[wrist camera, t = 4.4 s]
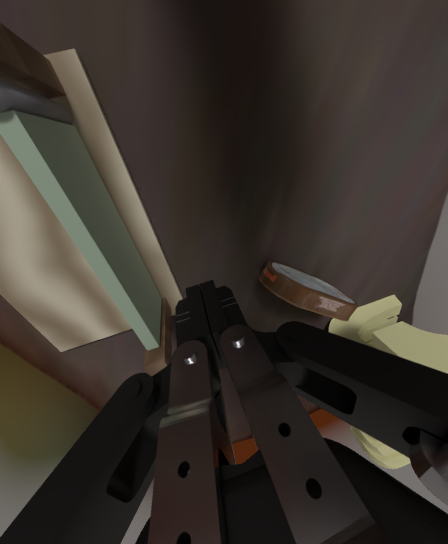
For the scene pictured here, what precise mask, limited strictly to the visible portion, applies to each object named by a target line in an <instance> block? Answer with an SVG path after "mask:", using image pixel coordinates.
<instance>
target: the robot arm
mask: <svg viewBox="0 0 448 544" xmlns="http://www.w3.org/2000/svg"><path fill="white" fill-rule="evenodd" d="M200 287H201V288H200ZM186 295H187V298H185V299H182V300H179V301H178V303H177V305H176V307H175V314H176V334H177V349H176V350H175V351H174V353H173V356H172V361H171V362H170V363H169V364H168V365H167V366H166V367H165V368H164V369H162V370H161V371H159V372H158V373H156V374H155V375H153V376H152V377H151V376H150V375H149V374H147V373H138V374H135V375H133V376H131V377H129V378H128V379H127V380H126V381H125V382H123V384H122V385H121V386H120V387H119V388H118V390H117V391H116V392H115V393H114V395H113V396H112V397H111V398H110V400H109V401H108V402H107V403H106V405H105V406H104V407H103V408H102V410H101V411H100V412H99V414H98V415H97V416H96V417H95V419H94V420H93V421H92V422H91V424H90V425H89V426H88V428H87V429H86V430H85V431H84V432H83V434H82V435H81V436H80V438H79V439H78V440H77V441H76V443H75V444H74V445H73V446H72V448H71V449H70V450H69V452H68V453H67V454H66V455H65V457H64V458H63V459H62V460H61V462H60V463H59V464H58V465H57V467H56V468H55V469H54V470H53V472H52V473H51V474H50V475H49V477H48V478H47V479H46V480H45V482H44V483H43V484H42V485H41V487H40V488H39V489H38V491H37V492H36V493H35V494H34V496H33V497H32V498H31V499H30V501H29V502H28V503H27V505H26V506H25V507H24V508H23V509H22V511H21V512H20V513H19V515H18V516H17V517H16V518H15V520H14V521H13V522H12V523H11V525H10V526H9V527H8V528H7V530H6V531H5V532H4V533H3V535H2V536H1V537H0V544H120V543H121V541H122V539H123V537H124V535H125V533H126V531H127V529H128V527H129V526H130V524H131V521H132V520H133V518H134V516H135V514H136V512H137V510H138V508H139V506H140V504H141V502H142V500H143V498H144V496H145V494H146V492H147V490H148V488H149V486H150V484H151V482H152V480H153V478H154V485H153V496H152V506H151V516H150V518H149V519H148V521H147V522H146V524H145V526H144V528H143V530H142V531H141V533H140V535H139V537H138V539H137V542H136V543H135V544H448V514H447V513H446V512H444V511H443V510H441V509H440V508H438V507H437V506H435V505H434V504H432V503H431V502H429V501H428V500H426V499H425V498H423V497H422V496H420V495H419V494H417V493H416V492H414V491H413V490H411V489H410V488H408V487H407V486H405V485H404V484H402V483H401V482H399V481H398V480H396V479H395V478H393V477H392V476H390V475H389V474H387V473H386V472H384V471H382V470H381V469H380V468H378V467H377V466H375V465H374V464H372V463H371V462H369V461H368V460H366V459H365V458H364V457H362V456H361V455H359V454H358V453H356V452H355V451H353V450H351V449H350V448H348V447H346V446H344V445H342V444H340V443H338V442H335V441H333V440H330V439H327V438H323V437H322V436H321V434H320V433H319V431H318V429H317V427H316V426H315V424H314V423H313V421H312V419H311V418H310V416H309V415H308V413H307V411H306V410H305V408H304V406H303V405H302V403H301V402H300V400H299V398H298V397H297V395H299V396H301V397H303V398H304V399H306V400H308V401H310V402H311V403H313V404H315V405H317V406H319V407H320V408H322V409H324V410H326V411H327V412H329V413H331V414H333V415H335V416H336V417H338V418H340V419H341V420H343V421H345V422H347V423H348V424H350V425H352V426H354V427H355V428H357V429H359V430H361V431H362V432H364V433H366V434H368V435H369V436H371V437H373V438H375V439H376V440H378V441H380V442H382V443H383V444H385V445H387V446H389V447H390V448H392V449H394V450H396V451H397V452H399V453H401V454H403V455H404V456H406V457H408V458H410V462H411V465H412V468H413V470H414V472H415V474H416V475H417V477H418V478H419V480H420V481H421V482H422V483H423V485H424V486H425V487H426V488H427V489H428V490H429V491H430V492H431V493H432V494H433V495H434V496H436V497H437V498H438V499H440V500H441V501H442V502H444V503H445V504H446V505H448V373H445V372H442V371H439V370H436V369H433V368H430V367H428V366H425V365H422V364H419V363H416V362H413V361H410V360H408V359H405V358H402V357H399V356H396V355H393V354H390V353H387V352H385V351H382V350H379V349H376V348H373V347H370V346H367V345H365V344H362V343H359V342H356V341H353V340H350V339H347V338H345V337H342V336H339V335H336V334H333V333H330V332H327V331H325V330H322V329H319V328H316V327H313V326H310V325H307V324H304V323H301V322H296V321H292V322H287V323H284V324H283V325H281V326H280V327H279V328H278V330H277V332H267V333H263V332H258V331H255V330H253V329H251V328H250V327H249V326H248V325H247V323H246V321H245V319H244V317H243V314H242V312H241V310H240V308H239V306H238V304H237V301H236V299H235V298H234V295H233V293H232V291H231V290H230V289H229V288H228V287H226V286H222V287H219V288H215V285H214V282H213V280H211V281H207V282H204V283H201V284H200V286H199V284H198V285H195V286H192V287H189V288H186ZM220 356H221V358H220ZM221 359H222V362H223V365H224V367H226V366H228V369H229V371H230V374H231V377H232V380H233V383H234V386H235V389H236V391H237V394H238V397H239V399H240V402H241V405H242V407H243V410H244V413H245V415H246V418H247V421H248V423H249V426H250V429H251V432H252V434H253V437H254V440H255V442H256V445H257V448H258V451H257V452H256V453H255V454H254V455H252V456H251V457H250V458H249V459H248V460H246V461H245V462H244V463H242V464H237V465H236V462H235V457H234V453H233V449H232V444H231V441H230V436H229V430H228V424H227V417H226V411H225V404H224V398H223V391H222V386H221V380H220V375H219V371H218V369H221V368H223V366H222V362H221ZM295 393H296V394H297V395H296V394H295Z"/></svg>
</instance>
